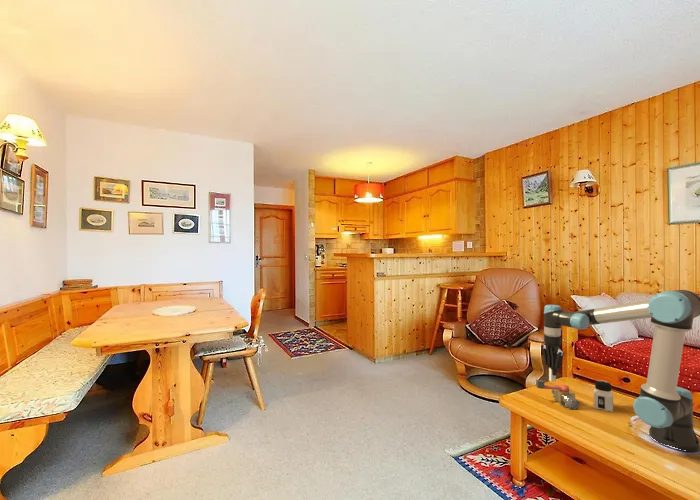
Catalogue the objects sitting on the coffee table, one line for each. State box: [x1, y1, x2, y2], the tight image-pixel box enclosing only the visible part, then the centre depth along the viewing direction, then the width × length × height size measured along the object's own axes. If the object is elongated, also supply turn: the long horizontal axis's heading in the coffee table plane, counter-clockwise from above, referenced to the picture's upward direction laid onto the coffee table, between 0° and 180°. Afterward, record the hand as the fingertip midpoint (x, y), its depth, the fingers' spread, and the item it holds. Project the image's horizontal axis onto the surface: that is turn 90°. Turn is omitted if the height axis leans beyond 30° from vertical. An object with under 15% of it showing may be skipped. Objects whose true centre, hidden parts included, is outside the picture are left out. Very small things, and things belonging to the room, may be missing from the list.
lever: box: [535, 379, 570, 391], centre depth 176 cm, size 16×4×4 cm, turn 81°
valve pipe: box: [551, 384, 580, 411], centre depth 175 cm, size 16×7×6 cm, turn 171°
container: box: [593, 380, 614, 413], centre depth 170 cm, size 8×8×13 cm
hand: (552, 380), depth 170 cm, fingers closed
